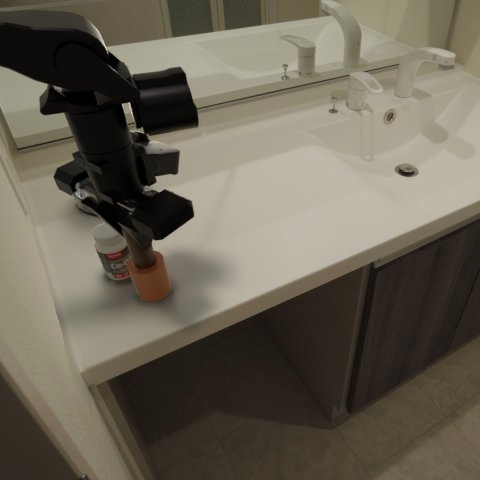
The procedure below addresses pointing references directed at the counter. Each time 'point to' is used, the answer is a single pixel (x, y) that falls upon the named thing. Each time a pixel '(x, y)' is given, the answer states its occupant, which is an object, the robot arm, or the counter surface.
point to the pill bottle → (112, 251)
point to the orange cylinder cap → (151, 279)
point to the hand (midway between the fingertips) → (139, 243)
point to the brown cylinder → (139, 253)
